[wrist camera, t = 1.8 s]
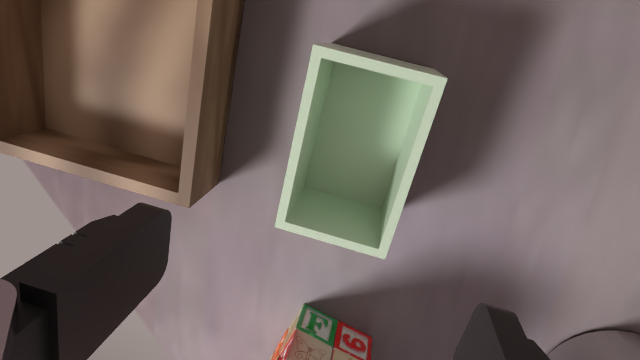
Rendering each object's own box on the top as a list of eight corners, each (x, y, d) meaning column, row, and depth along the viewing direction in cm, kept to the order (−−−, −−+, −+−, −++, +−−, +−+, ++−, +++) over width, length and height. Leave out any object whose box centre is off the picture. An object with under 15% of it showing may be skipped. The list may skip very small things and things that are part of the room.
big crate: (250, -39, 23) (219, -56, 19) (218, 183, 28) (188, 208, 24) (36, -90, 24) (-39, -117, 20) (45, 133, 29) (-12, 148, 25)
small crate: (434, 68, 23) (447, 78, 18) (386, 213, 27) (385, 259, 21) (331, 42, 24) (313, 44, 18) (298, 188, 27) (274, 226, 22)
